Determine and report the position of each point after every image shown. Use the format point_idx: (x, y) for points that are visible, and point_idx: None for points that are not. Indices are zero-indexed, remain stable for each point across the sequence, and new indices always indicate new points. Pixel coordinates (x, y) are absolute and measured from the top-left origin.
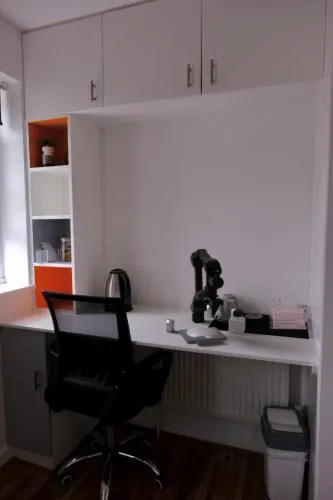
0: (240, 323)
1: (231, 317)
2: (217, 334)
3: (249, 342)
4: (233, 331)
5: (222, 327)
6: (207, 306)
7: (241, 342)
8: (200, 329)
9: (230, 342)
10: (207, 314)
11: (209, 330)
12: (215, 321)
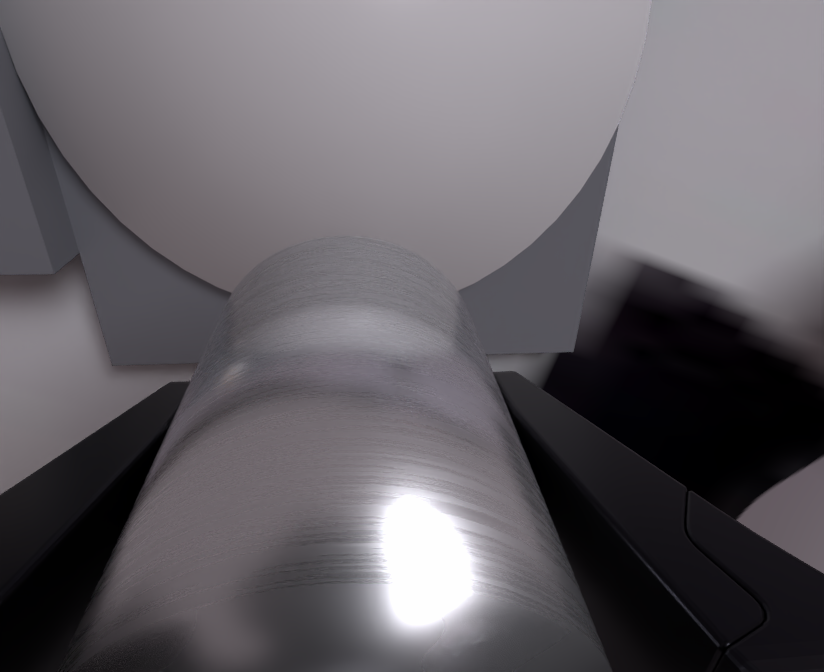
0: None
1: None
2: (188, 271)
3: None
4: None
5: None
6: (265, 543)
7: (38, 467)
8: (508, 61)
9: (31, 357)
10: (303, 279)
11: (405, 211)
12: (820, 428)
